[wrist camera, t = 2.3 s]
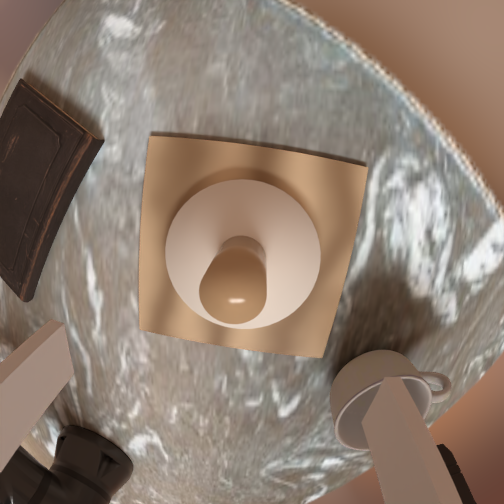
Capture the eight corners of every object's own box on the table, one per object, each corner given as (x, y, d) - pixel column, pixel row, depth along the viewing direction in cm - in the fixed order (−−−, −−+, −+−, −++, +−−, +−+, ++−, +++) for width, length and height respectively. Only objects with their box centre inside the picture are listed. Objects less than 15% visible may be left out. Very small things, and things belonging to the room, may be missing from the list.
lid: (165, 311, 29) (135, 358, 21) (175, 170, 25) (136, 172, 17) (302, 332, 29) (312, 386, 21) (331, 192, 25) (361, 204, 17)
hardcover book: (-25, 227, 29) (-35, 230, 26) (31, 81, 23) (19, 78, 21) (35, 297, 31) (25, 304, 29) (108, 141, 25) (96, 140, 23)
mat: (140, 327, 30) (139, 329, 30) (151, 136, 25) (149, 135, 24) (321, 356, 30) (322, 358, 30) (366, 167, 25) (368, 167, 24)
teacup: (317, 408, 33) (326, 456, 25) (329, 338, 30) (346, 387, 22) (414, 396, 32) (435, 435, 24) (437, 329, 29) (470, 366, 22)
